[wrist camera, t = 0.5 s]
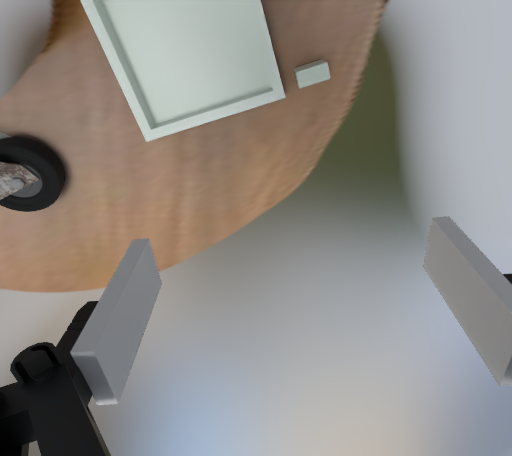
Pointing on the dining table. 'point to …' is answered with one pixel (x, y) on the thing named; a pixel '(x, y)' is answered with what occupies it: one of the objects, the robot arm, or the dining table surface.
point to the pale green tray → (191, 59)
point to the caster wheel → (28, 174)
